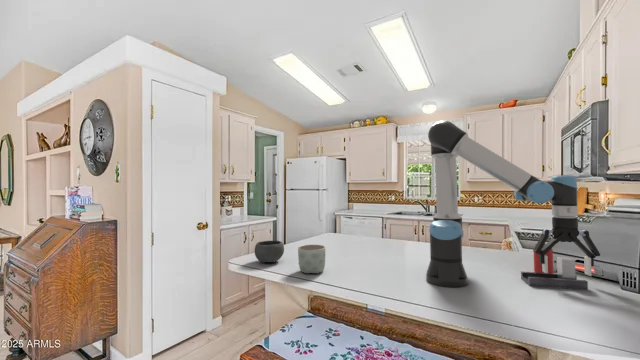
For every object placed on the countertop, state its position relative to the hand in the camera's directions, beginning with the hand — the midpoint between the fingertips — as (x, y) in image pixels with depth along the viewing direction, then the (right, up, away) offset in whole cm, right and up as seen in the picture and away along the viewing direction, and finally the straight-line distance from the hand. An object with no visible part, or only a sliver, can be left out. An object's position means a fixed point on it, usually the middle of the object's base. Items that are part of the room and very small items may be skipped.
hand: (566, 273), depth 112 cm
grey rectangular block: (0, -4, 0) cm, 4 cm away
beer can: (+3, -5, +15) cm, 16 cm away
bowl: (-118, -7, +40) cm, 125 cm away
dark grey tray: (-4, -4, +1) cm, 6 cm away
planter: (-96, -6, +22) cm, 99 cm away
